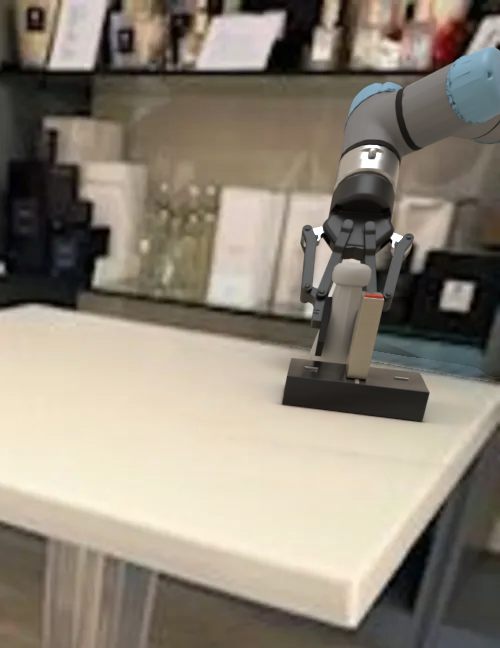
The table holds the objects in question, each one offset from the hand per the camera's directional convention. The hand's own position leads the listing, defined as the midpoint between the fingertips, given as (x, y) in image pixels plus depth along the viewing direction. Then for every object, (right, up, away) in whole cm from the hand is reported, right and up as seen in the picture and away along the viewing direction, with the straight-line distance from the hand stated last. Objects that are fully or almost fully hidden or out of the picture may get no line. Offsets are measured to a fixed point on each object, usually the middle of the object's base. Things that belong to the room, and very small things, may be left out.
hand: (336, 350), depth 102 cm
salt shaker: (+1, -2, +5) cm, 5 cm away
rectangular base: (-1, -8, -8) cm, 11 cm away
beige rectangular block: (-1, -5, -9) cm, 10 cm away
